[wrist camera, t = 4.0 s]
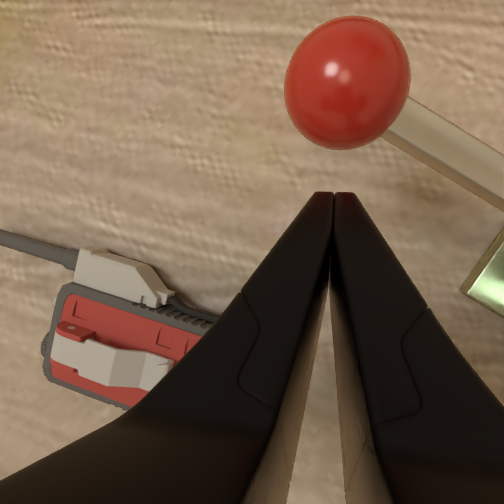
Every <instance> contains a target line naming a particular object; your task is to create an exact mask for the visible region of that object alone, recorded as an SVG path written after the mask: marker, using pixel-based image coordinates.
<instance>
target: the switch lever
mask: <svg viewBox="0 0 504 504" xmlns="http://www.w3.org/2000/svg"><path fill="white" fill-rule="evenodd" d="M410 81H411V70H410V63H409V59H408V55H407V53H406V50H405V48H404V46H403V44H402V43H401V41H400V39H399V38H398V37H397V36H396V34H395V33H394V32H393V31H392V30H391V29H390V28H388V27H387V26H386V25H384V24H383V23H381V22H379V21H377V20H374V19H371V18H368V17H363V16H343V17H339V18H335V19H333V20H330V21H328V22H326V23H324V24H322V25H320V26H318V27H317V28H316V29H314V30H313V31H312V32H311V33H309V34H308V35H307V36H306V37H305V38H304V40H303V41H302V42H301V43H300V44H299V46H298V47H297V49H296V50H295V52H294V54H293V56H292V58H291V60H290V62H289V65H288V68H287V71H286V76H285V83H284V97H285V103H286V108H287V111H288V114H289V116H290V118H291V120H292V122H293V124H294V125H295V127H296V128H297V129H298V131H299V132H300V133H301V134H302V135H303V136H304V137H305V138H307V139H308V140H310V141H311V142H312V143H314V144H316V145H318V146H321V147H324V148H327V149H332V150H350V149H355V148H359V147H362V146H364V145H367V144H369V143H371V142H373V141H374V140H376V139H377V138H379V137H381V138H383V139H385V140H386V141H388V142H390V143H391V144H393V145H395V146H396V147H398V148H399V149H401V150H403V151H404V152H406V153H408V154H409V155H411V156H413V157H414V158H416V159H418V160H419V161H421V162H422V163H424V164H426V165H427V166H429V167H431V168H432V169H434V170H436V171H437V172H439V173H440V174H442V175H444V176H445V177H447V178H449V179H450V180H452V181H454V182H455V183H457V184H459V185H460V186H462V187H463V188H465V189H467V190H468V191H470V192H472V193H473V194H475V195H477V196H478V197H480V198H481V199H483V200H485V201H486V202H488V203H490V204H491V205H493V206H495V207H496V208H498V209H500V210H501V211H503V212H504V155H503V154H501V153H500V152H498V151H497V150H495V149H493V148H492V147H490V146H488V145H487V144H485V143H484V142H482V141H480V140H479V139H477V138H476V137H474V136H472V135H471V134H469V133H467V132H466V131H464V130H463V129H461V128H459V127H458V126H456V125H454V124H453V123H451V122H450V121H448V120H446V119H445V118H443V117H441V116H440V115H438V114H437V113H435V112H433V111H432V110H430V109H428V108H427V107H425V106H424V105H422V104H420V103H419V102H417V101H415V100H414V99H412V98H411V97H409V96H408V94H409V89H410Z"/></svg>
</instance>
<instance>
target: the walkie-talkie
mask: <svg viewBox="0 0 504 504" xmlns="http://www.w3.org/2000/svg"><path fill="white" fill-rule="evenodd" d="M0 245H1V246H5V247H8V248H11V249H14V250H17V251H20V252H24V253H27V254H30V255H33V256H36V257H40V258H43V259H46V260H49V261H52V262H55V263H59V264H62V265H63V266H64V267H65V268H67V269H70V270H73V271H75V274H74V279H73V282H71V283H68V284H65V285H63V286H62V287H61V289H60V291H59V293H58V296H56V298H55V299H54V302H53V305H54V307H55V308H54V313H53V318H52V322H51V327H50V331H49V332H48V333H47V334H46V336H45V338H44V339H43V341H42V344H41V354H42V355H43V357H44V362H43V371H44V375H45V376H46V378H47V379H48V380H49V381H50V382H53V383H55V384H58V385H60V386H63V387H66V388H68V389H71V390H73V391H76V392H78V393H81V394H84V395H86V396H89V397H91V398H94V399H97V400H99V401H102V402H104V403H107V404H113V405H115V407H120V408H123V410H129V409H131V408H132V407H133V406H134V405H135V404H137V403H138V402H139V401H140V400H141V399H142V398H143V397H144V396H145V395H146V394H147V393H148V392H149V391H150V390H151V389H152V388H153V387H154V386H155V385H156V384H157V383H158V382H159V381H160V380H161V379H162V378H163V377H164V376H165V375H166V374H167V373H168V372H169V371H170V370H171V369H172V368H173V367H174V366H175V364H176V363H177V362H178V361H179V360H180V359H181V358H182V357H183V356H184V355H185V354H186V353H187V352H188V351H189V350H190V349H191V348H192V347H193V346H194V345H195V344H196V343H197V342H198V341H199V339H200V338H201V337H202V336H203V335H204V334H205V333H206V332H207V331H208V330H209V329H210V328H211V326H212V325H213V324H214V323H215V322H216V321H217V319H218V318H219V317H220V316H217V315H214V314H211V313H208V312H204V311H201V310H198V309H195V308H192V307H190V306H188V305H186V304H184V303H183V302H182V301H181V300H180V299H179V298H177V297H175V296H174V294H175V292H174V291H171V290H168V289H167V287H166V286H165V285H164V283H163V282H162V281H161V279H160V278H159V276H158V275H157V274H156V272H155V271H154V270H153V268H152V267H151V266H150V265H148V264H144V263H141V262H138V261H135V260H131V259H128V258H125V257H121V256H118V255H115V254H112V253H109V252H108V250H106V249H102V248H99V247H90V248H81V249H80V250H79V251H78V250H75V249H70V250H67V249H64V248H61V247H57V246H54V245H51V244H47V243H44V242H41V241H37V240H34V239H31V238H28V237H24V236H21V235H18V234H14V233H11V232H8V231H4V230H1V229H0ZM170 303H171V304H170Z"/></svg>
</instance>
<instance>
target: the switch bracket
mask: <svg viewBox="0 0 504 504" xmlns="http://www.w3.org/2000/svg"><path fill="white" fill-rule="evenodd" d="M459 291H460V292H462V293H463V294H465V295H467V296H468V297H470V298H472V299H473V300H475V301H477V302H479V303H480V304H482V305H484V306H485V307H487V308H489V309H491V310H492V311H494V312H496V313H497V314H499V315H501V316H503V317H504V227H503V229H502V230H501V231H500V233H499V234H498V236H497V237H496V239H495V240H494V241H493V243H492V244H491V246H490V247H489V249H488V250H487V251H486V253H485V254H484V256H483V257H482V258H481V260H480V261H479V263H478V264H477V266H476V267H475V268H474V270H473V271H472V273H471V274H470V276H469V277H468V278H467V280H466V281H465V283H464V284H463V285H462V287H461V288H460V290H459Z"/></svg>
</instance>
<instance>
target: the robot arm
mask: <svg viewBox="0 0 504 504" xmlns="http://www.w3.org/2000/svg"><path fill="white" fill-rule="evenodd" d="M329 273H330V276H329ZM328 285H329V294H330V308H331V321H332V333H333V346H334V359H335V371H336V384H337V397H338V410H339V422H340V435H341V448H342V460H343V473H344V486H345V492H346V494H345V499H346V504H504V406H503V405H502V404H501V402H500V401H499V400H498V399H497V398H496V396H495V395H494V394H493V393H492V392H491V390H490V389H489V388H488V387H487V385H486V384H485V383H484V382H483V381H482V379H481V378H480V377H479V376H478V374H477V373H476V372H475V371H474V369H473V368H472V367H471V366H470V364H469V363H468V362H467V361H466V359H465V358H464V357H463V355H462V354H461V353H460V352H459V350H458V349H457V348H456V346H455V345H454V343H453V342H452V340H451V339H450V338H449V336H448V335H447V333H446V332H445V330H444V329H443V328H442V326H441V325H440V323H439V322H438V320H437V318H436V317H435V315H434V314H433V312H432V311H431V309H430V308H427V307H428V305H427V303H426V302H425V300H424V299H423V297H422V296H421V294H420V293H419V291H418V290H417V288H416V287H415V285H414V283H413V282H412V280H411V279H410V277H409V276H408V274H407V273H406V271H405V270H404V268H403V267H402V265H401V264H400V262H399V261H398V259H397V257H396V256H395V254H394V253H393V251H392V250H391V248H390V247H389V245H388V244H387V242H386V241H385V239H384V238H383V236H382V234H381V233H380V231H379V230H378V228H377V227H376V225H375V224H374V222H373V221H372V219H371V218H370V216H369V215H368V213H367V211H366V210H365V208H364V207H363V205H362V204H361V202H360V201H359V199H358V198H357V196H356V195H355V194H354V193H352V192H337V193H335V195H334V193H333V192H315V193H314V194H313V195H312V197H311V198H310V199H309V201H308V202H307V203H306V204H305V206H304V207H303V208H302V210H301V211H300V212H299V214H298V215H297V216H296V218H295V219H294V220H293V222H292V223H291V224H290V226H289V227H288V228H287V230H286V231H285V232H284V233H283V235H282V236H281V237H280V239H279V240H278V241H277V243H276V244H275V245H274V247H273V248H272V249H271V251H270V252H269V253H268V255H267V256H266V257H265V259H264V260H263V261H262V263H261V264H260V265H259V266H258V268H257V269H256V270H255V272H254V273H253V274H252V276H251V277H250V278H249V280H248V281H247V282H246V284H245V285H244V286H243V288H242V289H241V292H239V293H238V294H237V295H236V297H235V298H234V299H233V301H232V302H231V303H230V304H229V306H228V307H227V308H226V310H225V311H224V312H223V313H222V314H221V316H220V317H219V318H218V319H217V321H216V322H215V323H214V324H213V325H212V326H211V328H210V329H209V330H208V331H207V332H206V333H205V334H204V335H203V336H202V337H201V338H200V339H199V341H198V342H197V343H196V344H195V345H194V346H193V347H192V348H191V349H190V350H189V351H188V352H187V353H186V354H185V355H184V356H183V357H182V358H181V359H180V360H179V361H178V362H177V363H176V364H175V366H174V367H173V368H172V369H171V370H170V371H169V372H168V373H167V374H166V375H165V376H164V377H163V378H162V379H161V380H160V381H159V382H158V383H157V384H156V385H155V386H154V387H153V388H152V389H151V390H150V391H149V392H148V393H147V394H146V395H145V396H144V397H143V398H142V399H141V400H140V401H139V402H138V403H137V404H135V405H134V406H133V407H132V408H131V409H129V410H128V411H127V412H125V413H124V414H123V415H121V416H120V417H118V418H117V419H115V420H114V421H112V422H110V423H109V424H107V425H105V426H103V427H101V428H99V429H97V430H96V431H94V432H92V433H90V434H88V435H86V436H84V437H82V438H80V439H79V440H77V441H75V442H73V443H71V444H69V445H67V446H65V447H63V448H61V449H60V450H58V451H56V452H54V453H52V454H50V455H48V456H46V457H44V458H42V459H41V460H39V461H37V462H35V463H33V464H31V465H29V466H27V467H25V468H23V469H22V470H20V471H18V472H16V473H14V474H12V475H10V476H8V477H6V478H5V479H3V480H1V481H0V504H286V502H287V497H288V491H289V486H290V483H289V482H290V481H291V476H292V471H293V466H294V461H295V456H296V451H297V445H298V440H299V435H300V430H301V425H302V420H303V415H304V410H305V405H306V400H307V395H308V389H309V384H310V379H311V374H312V369H313V364H314V359H315V354H316V349H317V344H318V339H319V333H320V328H321V323H322V318H323V313H324V308H325V303H326V298H327V292H328Z"/></svg>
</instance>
